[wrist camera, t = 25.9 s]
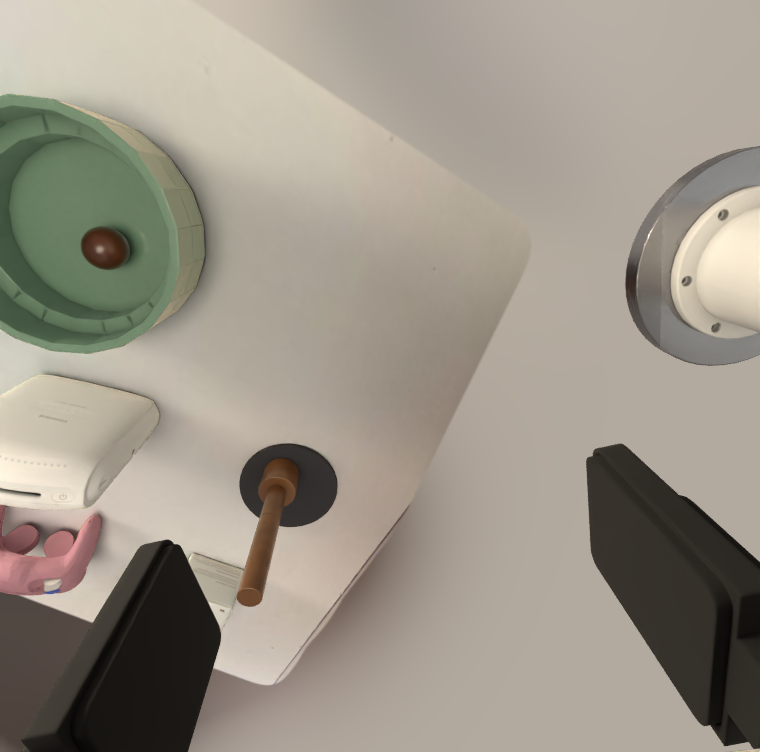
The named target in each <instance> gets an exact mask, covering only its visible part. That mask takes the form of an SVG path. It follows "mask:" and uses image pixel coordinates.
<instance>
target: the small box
mask: <svg viewBox="0 0 760 752" xmlns="http://www.w3.org/2000/svg"><path fill="white" fill-rule="evenodd" d="M188 562H189V564H190V566H191V568H192V570H193V572H194V574H195V576H196V578H197V581H198V583H199V585H200V587H201V589H202V591H203V593H204V595H205V597H206V599H207V601H208V603H209V605H210V607H211V609H212V611H213V614H214V616H215V618H216V620H217V622H218V624H219V626H220V630H221V631H222V629H223V627H224V625H225V623H226V621H227V619H228V617H229V615H230V613H231V611H232V609H233V606H234V603H235V600H236V597H237V593H238V589H239V586H240V582H241V579H242V576H243V572H244V570H242V569H239V568H236V567H233V566H230V565H227V564H224V563H221V562H219V561H215V560H212V559H210V558H207V557H204V556H201V555H198V554H195V553H193V554H191V556H190V558H189V560H188Z"/></svg>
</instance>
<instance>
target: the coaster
mask: <svg viewBox="0 0 760 752" xmlns="http://www.w3.org/2000/svg"><path fill="white" fill-rule="evenodd" d="M278 458H285V459H288V460H291V461H292V462H294V463H295V464H296V465H297V467H298V469H299V472H300V476H299V481H298V486H297V491H296V496H295V498H294V500H293V501H292V502H291V503H290V504H289V505H287V506H284V507H283V511H282V515H281V519H280V524H279V526H283V527H297V526H303V525H307V524H309V523H312V522H314V521H316V520H318V519H319V518H321V517H322V516H323V515H325V514H326V513H327V512H328V510H329V509H330V508H331V506H332V505H333V503H334V501H335V498H336V494H337V479H336V475H335V472H334V470H333V468H332V467H331V465H330V464H329V462H328V461H327V460H326V459H325V458H324V457H323V456H321V455H320V454H319V453H317V452H316V451H314V450H312V449H310V448H307V447H304V446H301V445H295V444H279V445H274V446H270V447H267V448H265V449H263V450H261V451H259V452H258V453H256V454H255V455H254V456H253V457H252V458H251V459H250V460H249V461H248V462H247V463H246V465H245V467H244V469H243V471H242V474H241V477H240V493H241V496H242V499H243V501H244V503H245V504H246V506H247V507H248V508H249V510H250V511H251V512H252V513H253V514H255V515H256V516H257V517H259V518H260V515H261V512H262V508H263V505H264V502H263V501H262V500H261V499H260V497H259V494H258V489H259V485H260V482H261V479H262V476H263V473H264V470H265V467H266V465H267V464H268V463H269V462H271V461H272V460H274V459H278Z"/></svg>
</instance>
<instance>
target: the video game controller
mask: <svg viewBox="0 0 760 752" xmlns="http://www.w3.org/2000/svg"><path fill="white" fill-rule="evenodd" d="M4 515H5V505H1V504H0V592H4V593H8V594H14V595H41V594H54V593H63V592H67V591H69V590H71V589H73V588H75V587H76V586H77V585H78V584H79V583H80V582H81V581H82V579H83V578H84V576H85V574H86V570H87V566H88V564H89V562H90V560H91V558H92V555H93V553H94V550H95V547H96V544H97V541H98V538H99V534H100V528H101V518H100V516H99V515H93V516H91V517H90V518H89V519H88V520H87V521H86V522H85V523H84V525H83V526H82V528H81V530H80V532H79V534H78V537H77V539H76V541H75V539H74V537H73V536H72V534H71V533H69V532H67V531H60V532H56V533H54V534H52V535H51V536H50V537H48V539H47V540H46V542H45V545H44V551H45V554H46V556H47V557H36V556H27V555H24V554H26V553H28V552H30V551H31V550H32V549H33V548H34V547H35V546H36V545H37V544H38V542H39V539H40V534H39V532H38V531H37V530H36V529H35V528H34V527H33V526H30V525H23V526H20V527H18V528H16V529H15V530H13V531H12V532H11V533H9V534H8V535H6V536H5V537H3V536H2V524H3V520H4Z"/></svg>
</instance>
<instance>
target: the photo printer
mask: <svg viewBox="0 0 760 752" xmlns="http://www.w3.org/2000/svg"><path fill="white" fill-rule="evenodd" d="M158 422H159V411H158V409H157V407H156V405H155V404H154V401H152V400H150V399H148V398H145V397H142V396H139V395H136V394H132V393H128V392H125V391H121V390H117V389H113V388H109V387H104V386H100V385H96V384H92V383H87V382H83V381H78V380H73V379H69V378H64V377H59V376H52V375H38V376H35V377H32V378H31V379H29V380H27V381H25V382H24V383H22V384H20V385H18V386H16V387H15V388H13V389H11V390H9V391H8V392H6V393H4V394H2V395H1V396H0V504H1V505H6V506H12V507H20V508H28V509H39V510H75V509H84V508H88V507H90V506H92V505H93V504H94V503H95V502H96V501H97V500H98V498H99V497H100V496H101V495H102V494H103V492H104V491H105V490H106V489H107V488H108V486H109V485H110V484H111V483H112V481H113V480H114V479H115V478H116V477H117V475H118V474H119V473H120V472H121V470H122V469H123V468H124V467H125V466H126V464H127V463H128V462H129V461H130V460H131V458H132V457H133V456H134V455H135V454H136V452H137V451H138V450H139V449H140V448H141V446H142V445H143V444H144V443H145V442H146V440H147V439H148V437H149V435H150V434H151V432H152V431H153V430H154V429H155V427H156V426H157V424H158Z"/></svg>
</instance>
